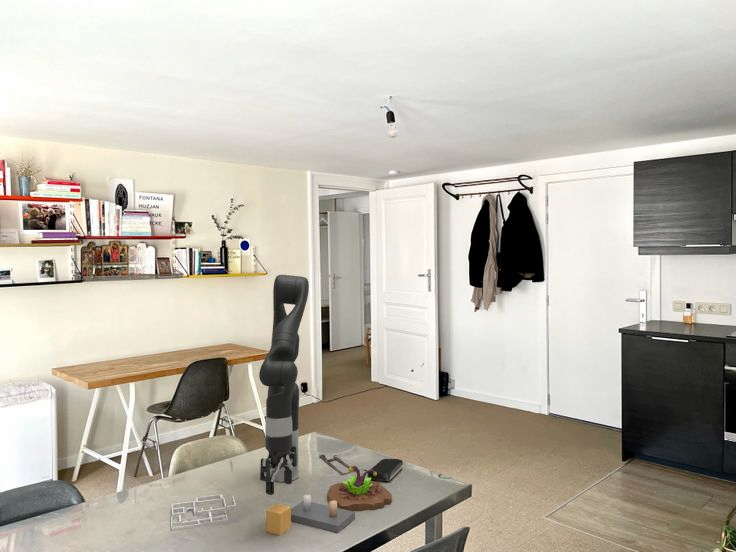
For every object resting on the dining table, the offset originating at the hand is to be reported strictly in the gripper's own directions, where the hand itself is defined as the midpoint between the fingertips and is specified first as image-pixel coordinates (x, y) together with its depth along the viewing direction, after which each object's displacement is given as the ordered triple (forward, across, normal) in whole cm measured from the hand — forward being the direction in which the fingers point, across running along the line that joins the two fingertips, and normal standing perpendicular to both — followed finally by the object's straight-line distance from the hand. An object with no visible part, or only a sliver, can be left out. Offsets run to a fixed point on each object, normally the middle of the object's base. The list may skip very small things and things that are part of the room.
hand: (279, 488), depth 160 cm
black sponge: (+12, -52, +9) cm, 54 cm away
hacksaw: (+12, -53, -9) cm, 55 cm away
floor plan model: (+12, -1, -29) cm, 32 cm away
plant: (+12, -29, +10) cm, 33 cm away
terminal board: (+12, -11, +7) cm, 17 cm away
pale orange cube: (+12, 0, 0) cm, 12 cm away
